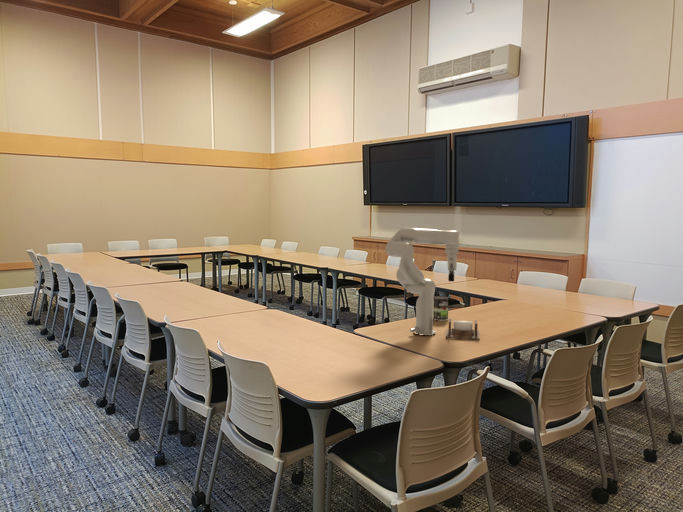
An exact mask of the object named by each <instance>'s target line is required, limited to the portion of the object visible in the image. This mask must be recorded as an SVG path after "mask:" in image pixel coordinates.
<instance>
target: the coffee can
mask: <svg viewBox="0 0 683 512" xmlns="http://www.w3.org/2000/svg"><path fill="white" fill-rule="evenodd" d="M433 319H434V320H433V321H436V320H438V321H437V322H446V321H449V297H448V296H445V295H434V298H433Z"/></svg>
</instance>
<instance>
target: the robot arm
mask: <svg viewBox="0 0 683 512" xmlns="http://www.w3.org/2000/svg"><path fill="white" fill-rule="evenodd" d="M459 234H460V233H459V230H439V229H433V228H418V227H402V228H400V229H399V230H397V232H396V233H394V235H393V236H392V237H391V238H390V239H389V241H388V242H387V243H386V246H385V252H386V254H387V255H388V256H390V257H392V258H393V257H394V258H400V260H399V261H400V262H399V265H398V269H397V270H396V275H395V276H396V279H397V281H398V283H399V284H400V285H401V286H402V287H403V288H404V289H405V290H406V291H407V292H408V293H410V294H416V295H419V296H418V298H417V299H416V302H415V303H416V304H415V309H416V310H415V325H414V328H410V329H409V332H410V333H413V332H416V333H418V334H423V335H432V336H434V335H433V334H435V335H436V330H434V320H433V298H434V296H435V291H436V284H435V282H434V281H433V280H432V279H430V278H425V275H424V274H423V271H422V270H421V269H420V268H419V267H418V266H417V265H416V264H415V262H414V254H415V248H414V246H413V245H415V244H416V245H419V244H421V245H445V249H444V250H445V253H444V254H445V255H447V256H446V258H447V263H446V265H447V271H448V276H447V277H448V278H447V279H448V282H455V272H457V264H458V263H457V262H458V257H457V255H459V245H460V244H459V241H460V235H459Z"/></svg>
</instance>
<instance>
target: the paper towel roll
mask: <svg viewBox="0 0 683 512" xmlns="http://www.w3.org/2000/svg"><path fill="white" fill-rule="evenodd" d="M453 328H454V330H459V331H472V329H473V321H470V320H469V321H468V320H453Z"/></svg>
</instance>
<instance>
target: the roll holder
mask: <svg viewBox="0 0 683 512" xmlns="http://www.w3.org/2000/svg"><path fill="white" fill-rule="evenodd" d="M446 338H455V339H454V340H461V339H468V340H467V341H477V340H481V337H480V331H479V330H478V320H476V319H475V320H474V328H472V331H459V330H454V327H452V318H448V328H446V332H445V339H446Z"/></svg>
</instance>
